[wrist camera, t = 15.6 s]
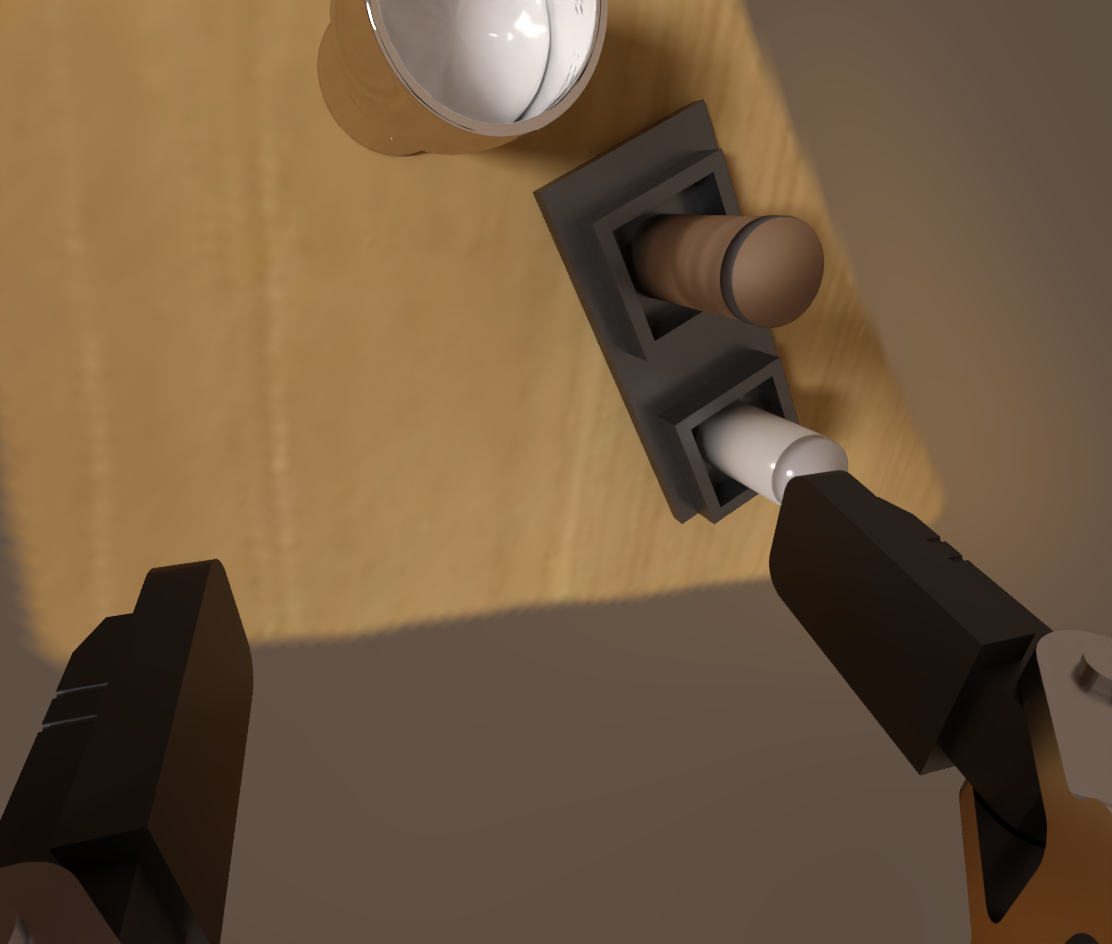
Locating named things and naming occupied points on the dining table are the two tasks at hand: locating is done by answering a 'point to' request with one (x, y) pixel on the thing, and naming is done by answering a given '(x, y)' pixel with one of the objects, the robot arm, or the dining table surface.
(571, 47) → the beer glass
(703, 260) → the brown wooden cylinder
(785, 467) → the salt shaker
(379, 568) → the dining table surface
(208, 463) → the dining table surface
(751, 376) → the condiment caddy
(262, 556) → the dining table surface
